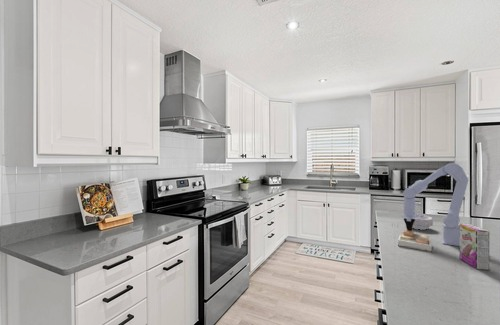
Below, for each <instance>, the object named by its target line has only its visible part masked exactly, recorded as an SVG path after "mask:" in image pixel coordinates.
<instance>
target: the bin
mask: <svg viewBox="0 0 500 325" xmlns="http://www.w3.org/2000/svg"><path fill="white" fill-rule="evenodd" d="M401 235H402V234H399V236H398V239H397V246H398V247H404V248H409V249H414V250H421V251H425V250H427V252H432V247H433V246H432V239H430V238H429V243H428V245H427V244H421V243H416V241H414V240H408V239H402V238H401Z"/></svg>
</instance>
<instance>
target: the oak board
mask: <svg viewBox="0 0 500 325" xmlns="http://www.w3.org/2000/svg"><path fill="white" fill-rule="evenodd" d="M403 232H404V231H402V232H401V234H400V235H401V238H402V239H408V240H414V241H416V239H423V240H427V242H428V243H429V239H430V235H425V234H424V235H423V234H418V233H414V237H412V236H405V235H403Z"/></svg>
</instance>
